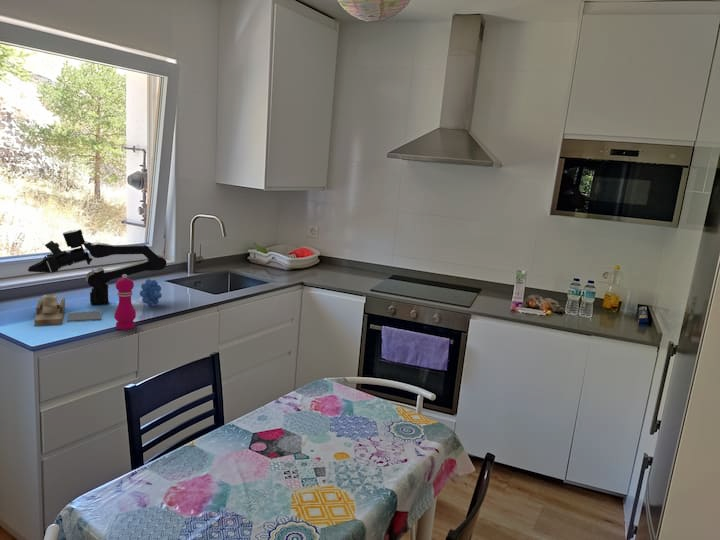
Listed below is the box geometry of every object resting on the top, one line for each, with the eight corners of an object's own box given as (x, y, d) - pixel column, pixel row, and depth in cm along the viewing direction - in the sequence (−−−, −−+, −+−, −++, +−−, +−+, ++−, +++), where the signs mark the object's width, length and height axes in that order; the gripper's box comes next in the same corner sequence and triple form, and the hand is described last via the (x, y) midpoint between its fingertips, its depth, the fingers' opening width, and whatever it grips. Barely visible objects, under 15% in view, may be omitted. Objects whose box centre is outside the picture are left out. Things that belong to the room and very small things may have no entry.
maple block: (57, 309, 199) (57, 294, 198) (57, 312, 195) (56, 297, 194) (44, 310, 197) (43, 294, 196) (43, 313, 193) (42, 297, 192)
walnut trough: (65, 307, 209) (64, 296, 209) (61, 324, 188) (61, 312, 188) (40, 308, 205) (40, 297, 205) (34, 325, 185) (34, 313, 184)
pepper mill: (118, 323, 193) (118, 271, 190) (138, 324, 194) (138, 272, 190) (111, 329, 186) (110, 275, 183) (132, 330, 187) (131, 276, 183)
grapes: (148, 310, 213) (148, 282, 211) (136, 308, 216) (135, 280, 214) (168, 305, 224) (168, 278, 222) (156, 302, 226) (156, 275, 224)
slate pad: (100, 312, 206) (100, 311, 206) (100, 319, 196) (100, 318, 196) (68, 314, 201) (68, 312, 201) (67, 321, 191) (67, 320, 191)
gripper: (63, 237, 217) (21, 248, 209) (64, 239, 201) (19, 251, 193) (73, 262, 219) (32, 274, 212) (75, 266, 203) (30, 279, 196)
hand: (28, 269), depth 203 cm, fingers open, 9 cm apart
